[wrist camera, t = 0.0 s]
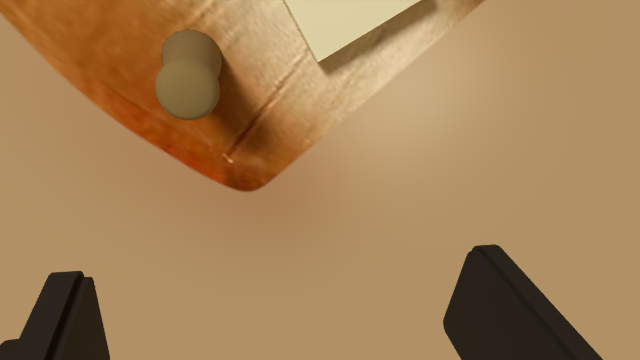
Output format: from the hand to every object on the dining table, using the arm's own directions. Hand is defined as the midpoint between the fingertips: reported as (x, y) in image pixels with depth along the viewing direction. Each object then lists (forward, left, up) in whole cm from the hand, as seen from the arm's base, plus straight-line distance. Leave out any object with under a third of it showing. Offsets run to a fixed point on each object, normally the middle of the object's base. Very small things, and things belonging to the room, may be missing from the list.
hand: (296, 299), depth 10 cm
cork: (+1, -6, -38) cm, 38 cm away
